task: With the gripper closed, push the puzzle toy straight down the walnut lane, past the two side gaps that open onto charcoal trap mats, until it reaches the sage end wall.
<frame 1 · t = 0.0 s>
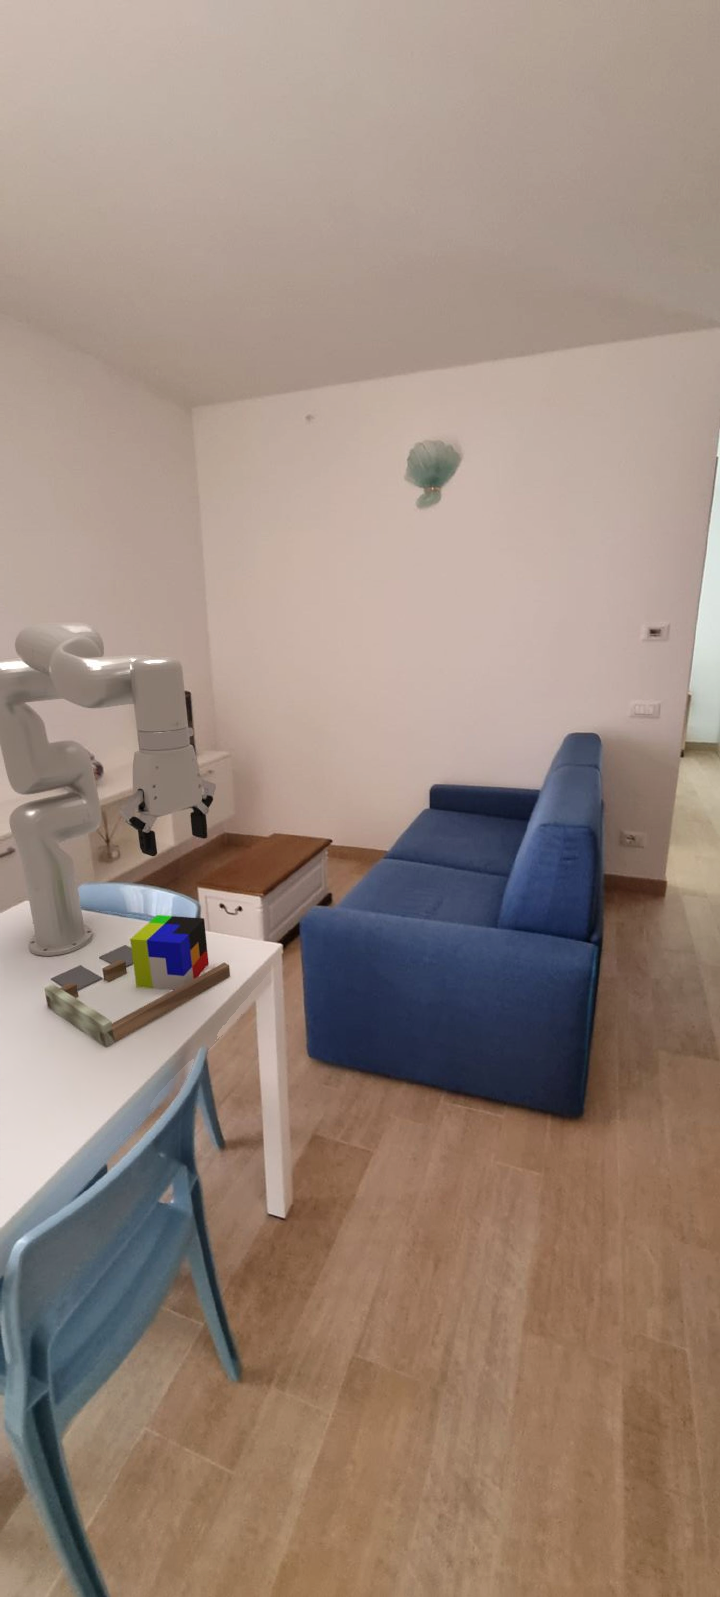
hand: (175, 845, 103), 31 cm above the table, tool pointing down, fingers open, 9 cm apart
puzzle toy: (173, 976, 125), on the table
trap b: (123, 957, 131), on the table
trap box: (142, 991, 119), on the table
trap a: (76, 979, 124), on the table
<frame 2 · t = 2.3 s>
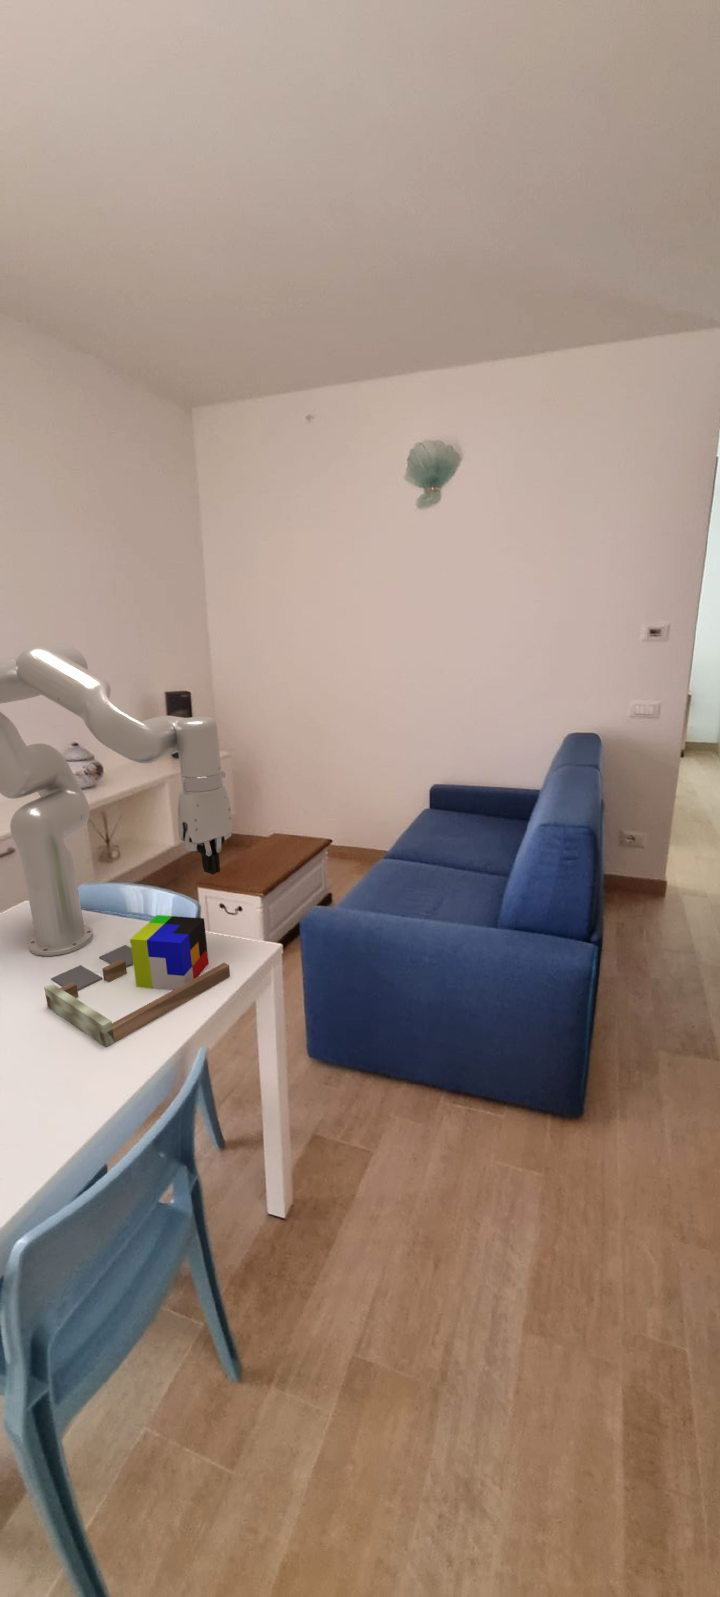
hand: (212, 871, 128), 18 cm above the table, tool pointing down, fingers closed
nothing on the table moved.
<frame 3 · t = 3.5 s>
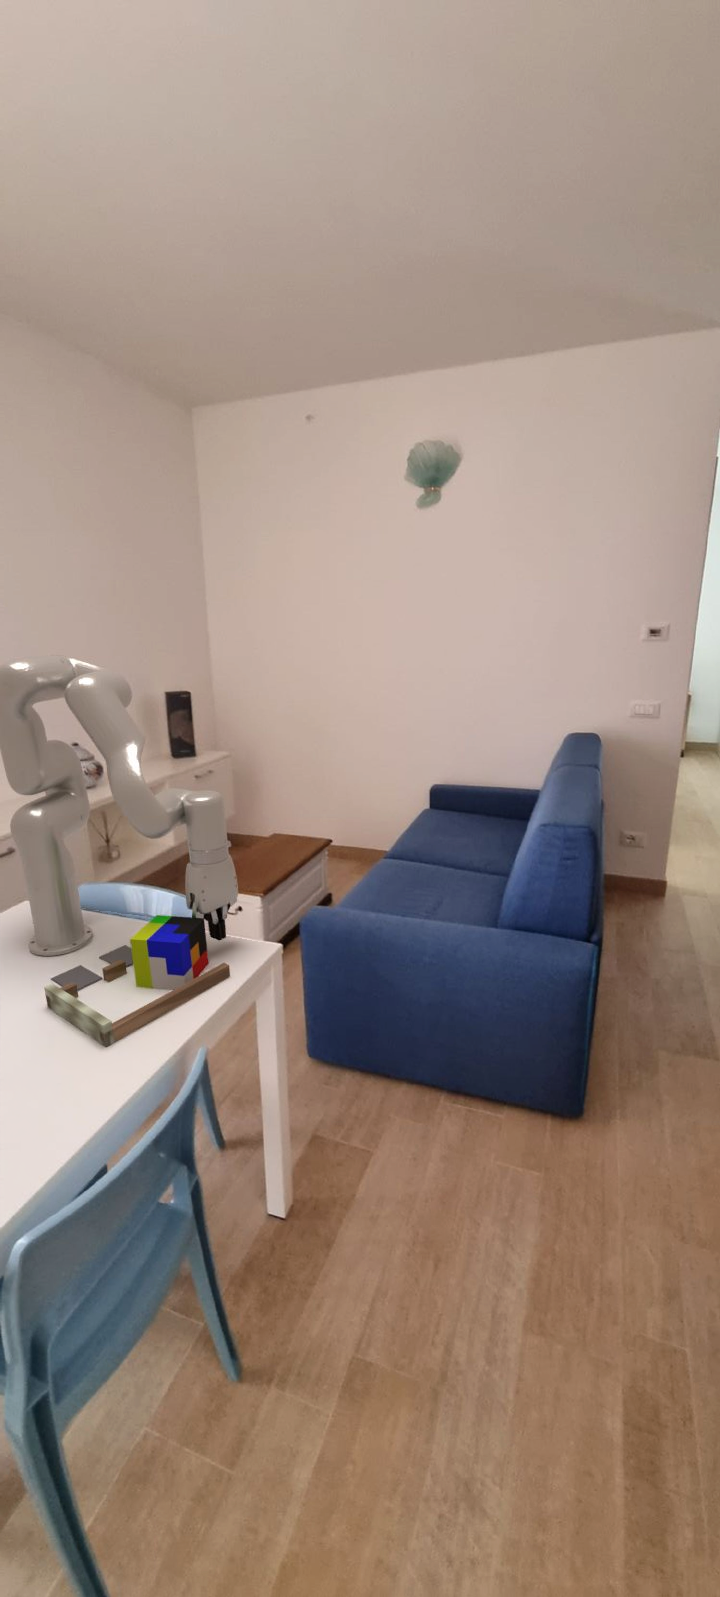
hand: (218, 937, 132), 3 cm above the table, tool pointing down, fingers closed
nothing on the table moved.
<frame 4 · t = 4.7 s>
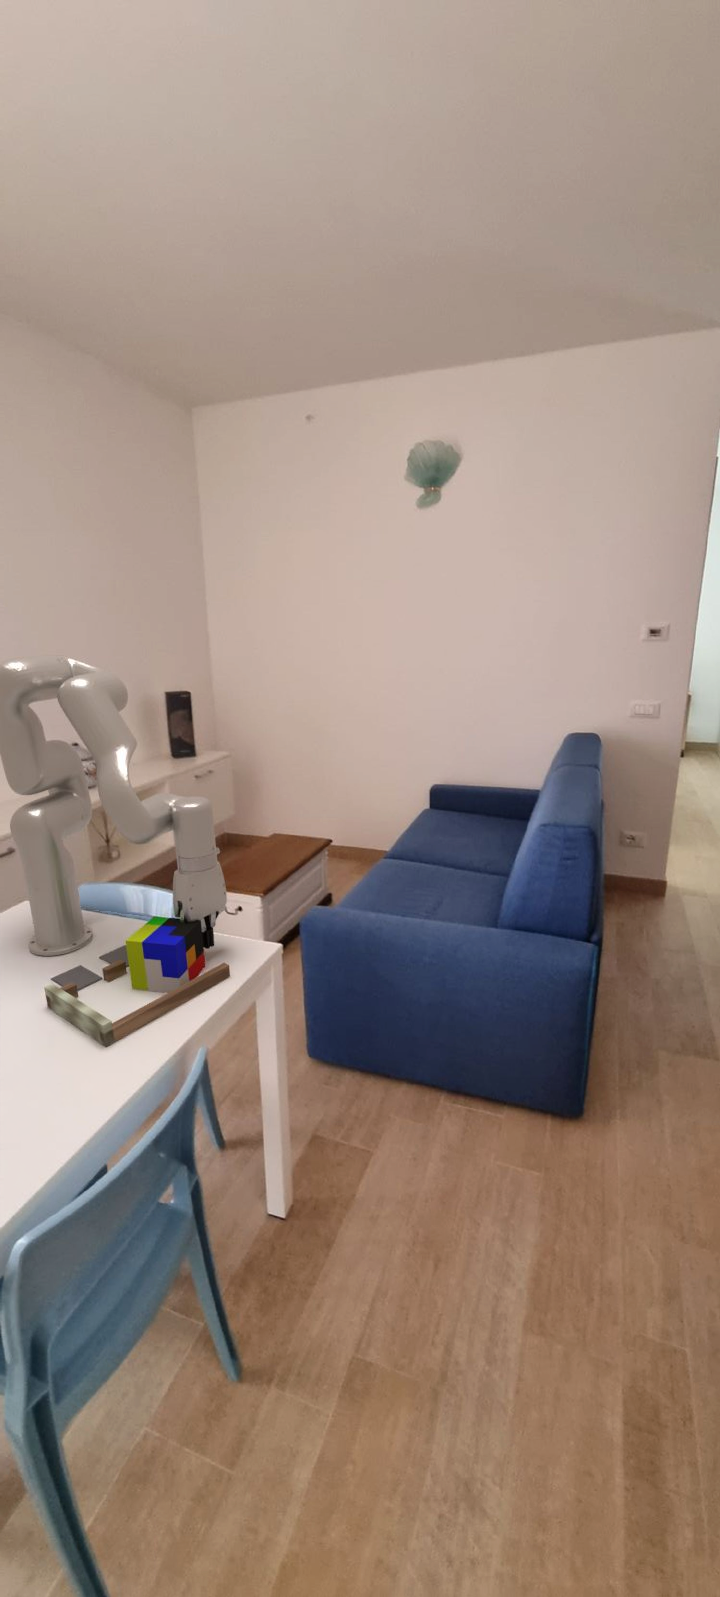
hand: (206, 945, 130), 3 cm above the table, tool pointing down, fingers closed
puzzle toy: (170, 978, 124), on the table
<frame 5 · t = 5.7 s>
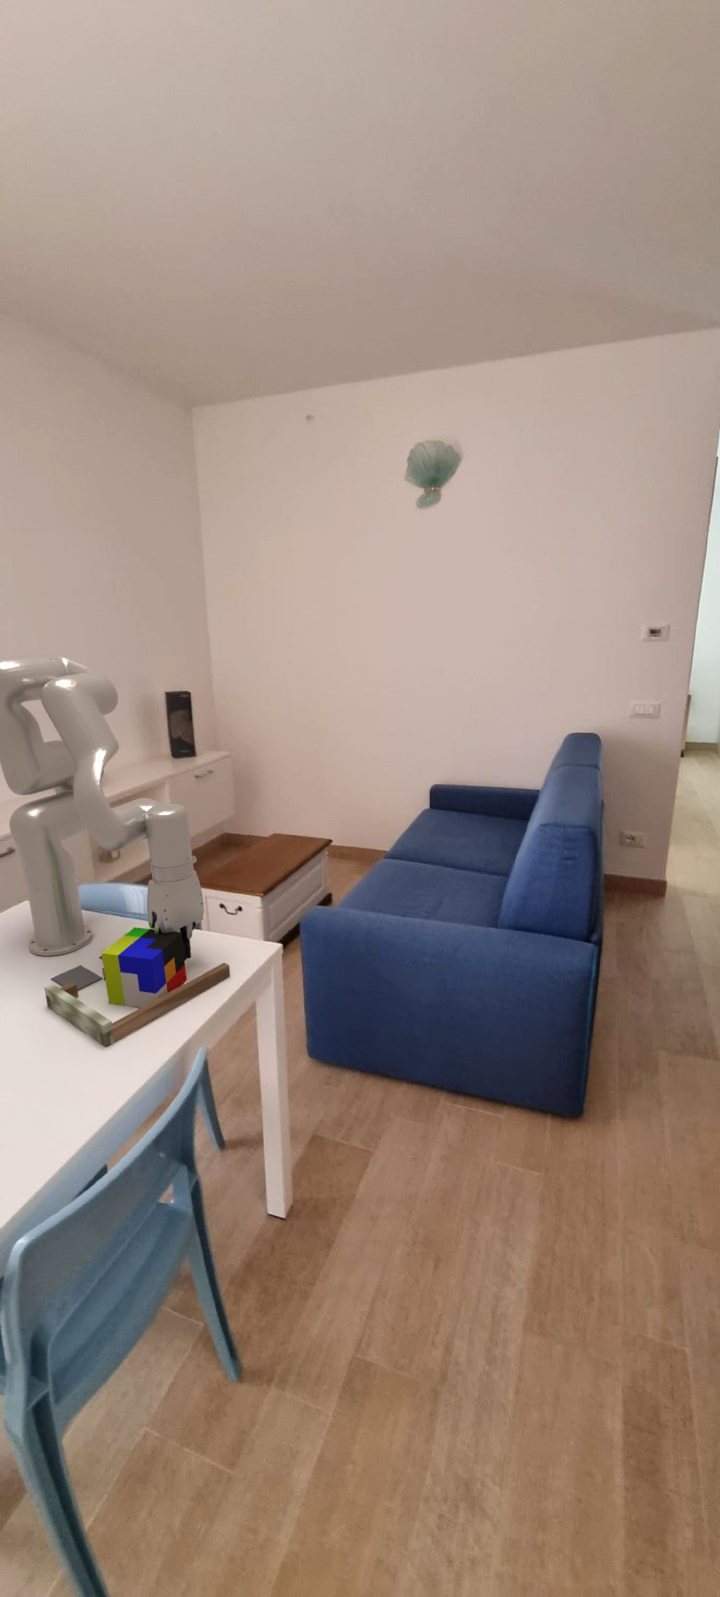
hand: (182, 957, 126), 3 cm above the table, tool pointing down, fingers closed
puzzle toy: (149, 992, 119), on the table, touching gripper
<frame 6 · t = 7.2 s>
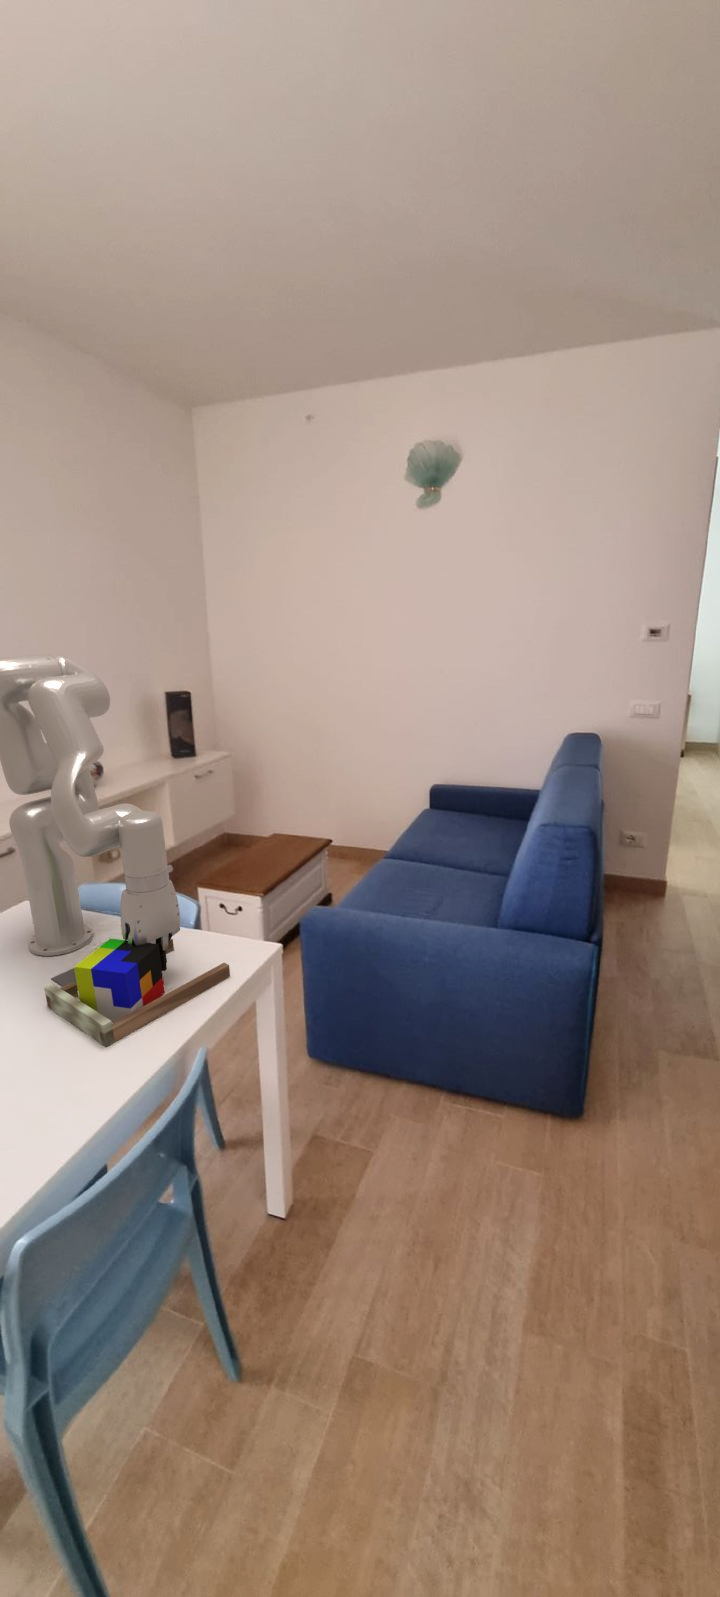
hand: (158, 969, 121), 3 cm above the table, tool pointing down, fingers closed
puzzle toy: (125, 1006, 115), on the table, touching gripper, trap box
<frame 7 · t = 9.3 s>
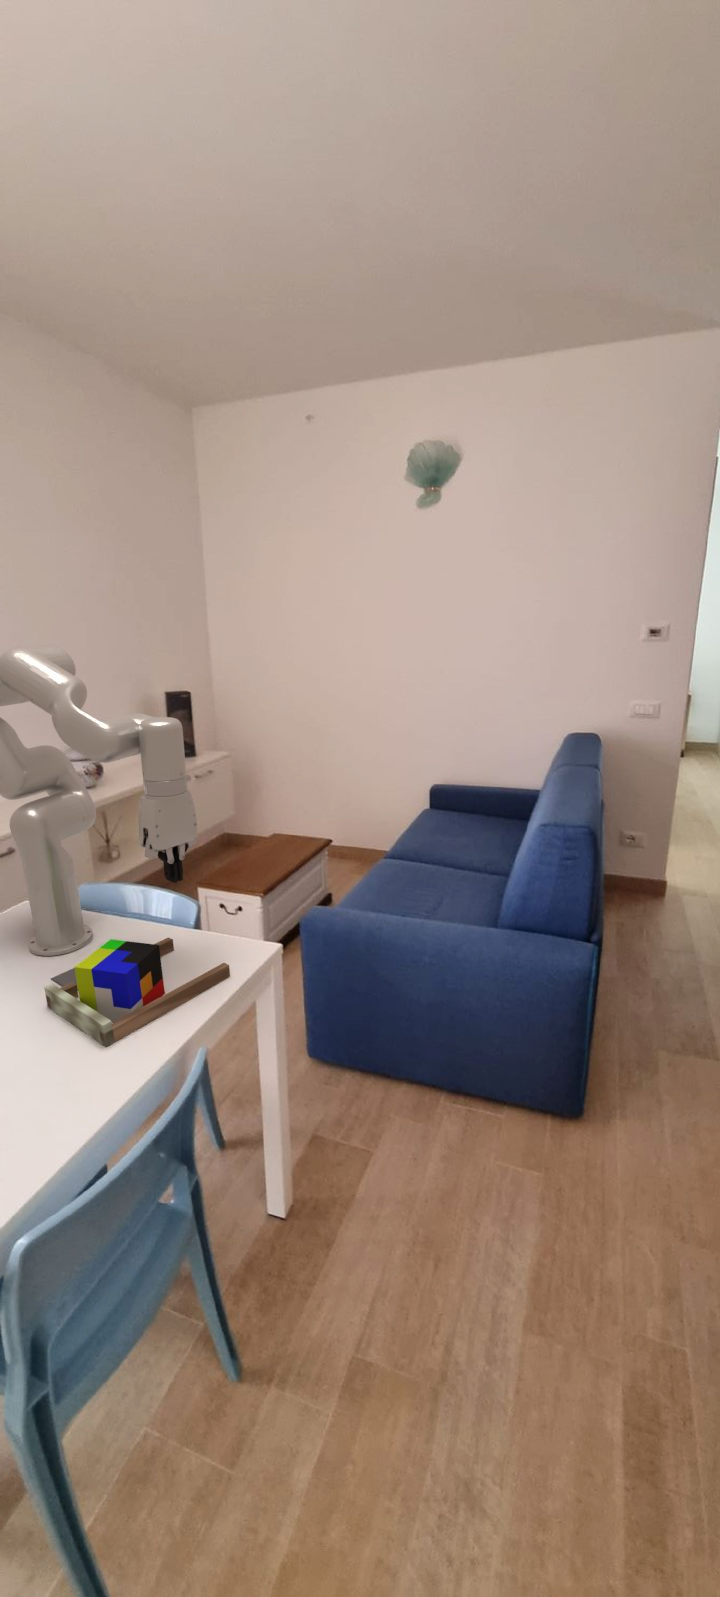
hand: (174, 879, 122), 19 cm above the table, tool pointing down, fingers closed
puzzle toy: (125, 1006, 115), on the table
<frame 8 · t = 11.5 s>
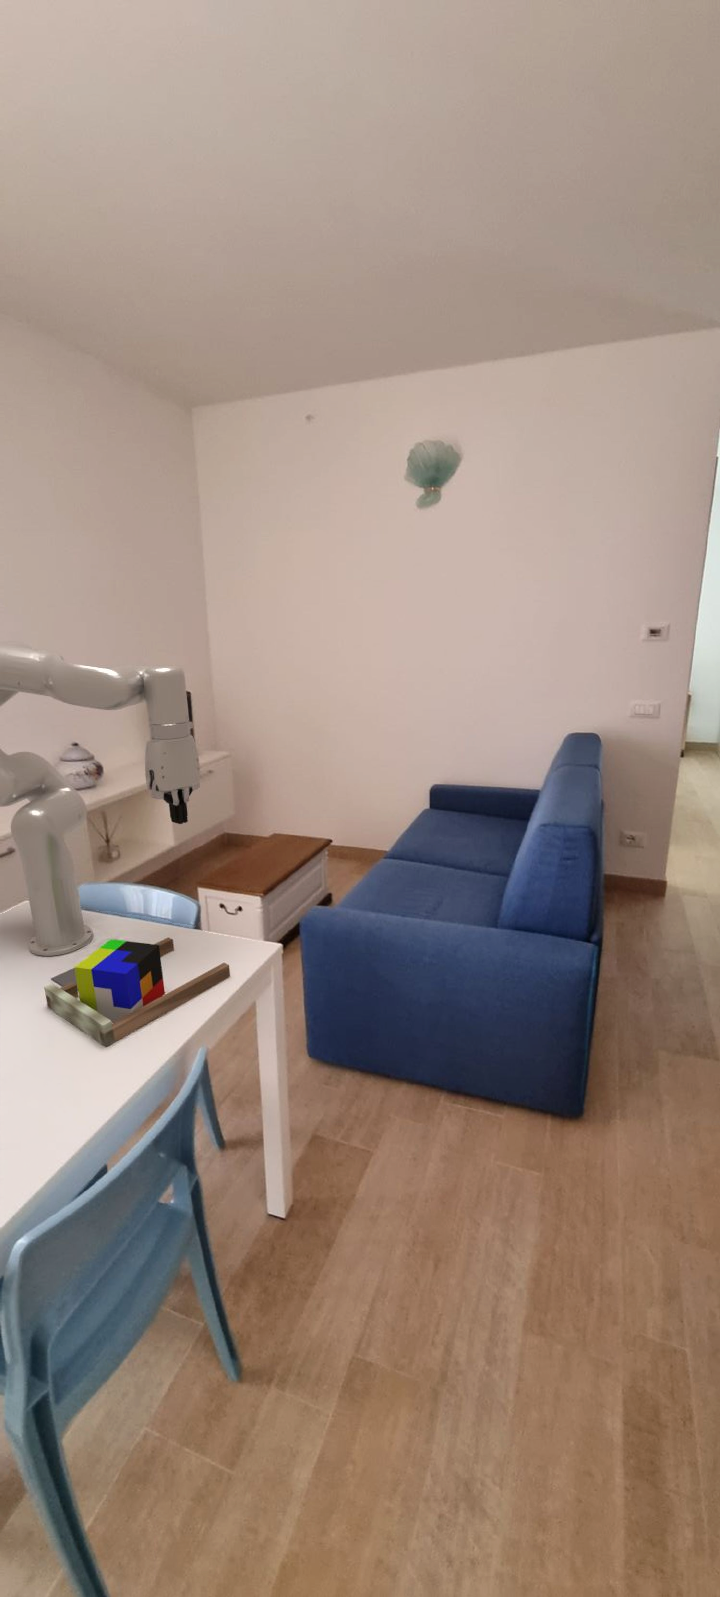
hand: (179, 821, 129), 27 cm above the table, tool pointing down, fingers closed
nothing on the table moved.
at the end: puzzle toy inside the target area (1.5 cm from its centre), on the table; puzzle toy touching table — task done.
